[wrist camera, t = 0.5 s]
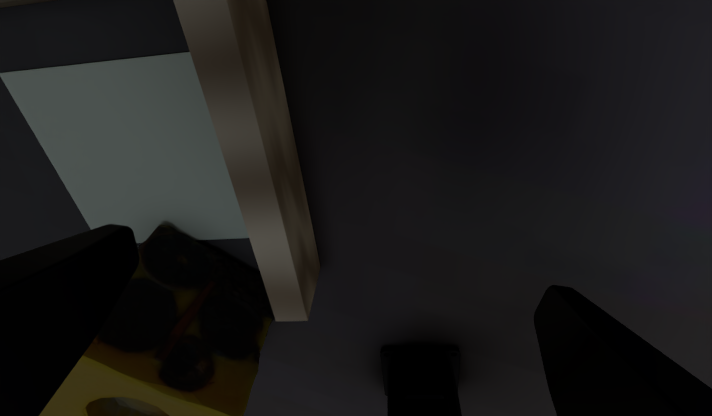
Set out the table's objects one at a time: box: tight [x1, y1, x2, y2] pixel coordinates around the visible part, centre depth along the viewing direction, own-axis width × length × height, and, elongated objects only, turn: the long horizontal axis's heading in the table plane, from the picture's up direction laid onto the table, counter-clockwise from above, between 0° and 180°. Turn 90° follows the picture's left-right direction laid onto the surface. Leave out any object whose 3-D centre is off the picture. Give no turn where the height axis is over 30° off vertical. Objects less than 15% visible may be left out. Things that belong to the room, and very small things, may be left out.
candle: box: [39, 224, 275, 416], centre depth 24 cm, size 10×10×10 cm
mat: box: [0, 52, 249, 243], centre depth 22 cm, size 12×12×1 cm
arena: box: [0, 0, 320, 321], centre depth 20 cm, size 20×21×5 cm
